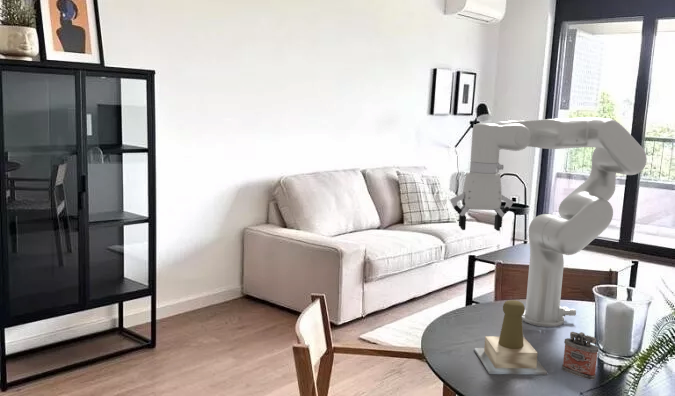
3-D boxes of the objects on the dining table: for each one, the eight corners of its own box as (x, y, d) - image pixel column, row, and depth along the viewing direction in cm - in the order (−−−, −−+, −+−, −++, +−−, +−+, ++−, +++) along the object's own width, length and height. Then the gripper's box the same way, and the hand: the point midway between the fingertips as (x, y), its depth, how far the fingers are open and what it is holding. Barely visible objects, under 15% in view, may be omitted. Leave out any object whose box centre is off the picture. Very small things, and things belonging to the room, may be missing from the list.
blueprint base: (527, 350, 164) (528, 334, 163) (547, 374, 150) (548, 356, 150) (474, 350, 164) (475, 333, 163) (489, 374, 150) (490, 355, 149)
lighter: (559, 369, 153) (562, 330, 152) (565, 365, 156) (569, 327, 154) (591, 381, 148) (596, 340, 146) (598, 376, 150) (602, 337, 148)
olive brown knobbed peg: (524, 350, 153) (528, 306, 151) (498, 347, 154) (502, 304, 152) (522, 340, 159) (526, 298, 157) (497, 338, 160) (501, 296, 158)
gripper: (510, 167, 177) (506, 227, 180) (449, 166, 176) (446, 226, 179) (519, 171, 170) (514, 233, 172) (455, 169, 169) (452, 231, 172)
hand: (479, 229), depth 176 cm, fingers open, 9 cm apart
